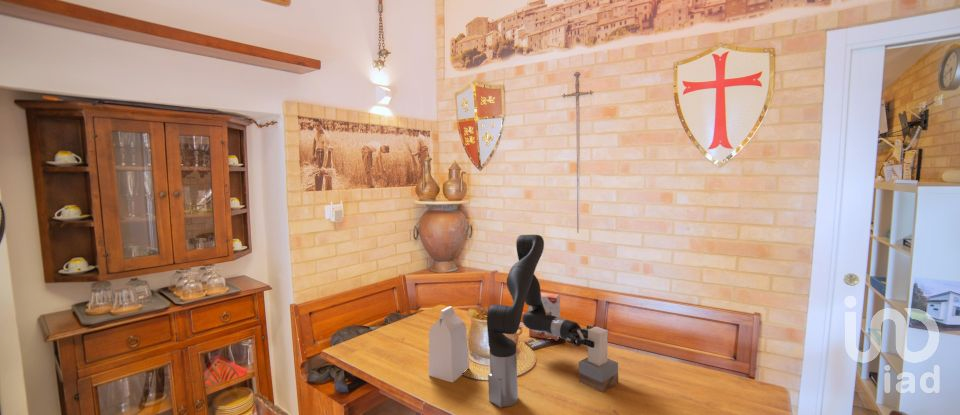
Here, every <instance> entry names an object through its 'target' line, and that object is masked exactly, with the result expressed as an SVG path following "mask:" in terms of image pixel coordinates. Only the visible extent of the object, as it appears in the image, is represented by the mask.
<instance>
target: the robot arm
mask: <svg viewBox="0 0 960 415" xmlns="http://www.w3.org/2000/svg"><path fill="white" fill-rule="evenodd" d="M515 243H516V246H515V247H516V253H517V259H518V261H517V262H515V263H514V264H513V265H512V266H511V267H510V270H509V273H508V274H507V277H506V283H505V284H506V288H507V289H508V292H509V294H510V296H511V299H512V300H513V302H512V304H511V305H505V304H491V305H490V306H489V307H488V309H487V313H486V328H487V342H488V347H489V370H490V371H489V372H490V373H488V375H487V376H488V377H487V378H488V383H487V384H488V401H489V402H491V403H492V404H494V405H495V406H497V407H498V408H500V409H501V408H503V407H506V408H507V407H510V406H514V405H515V404H517V402H518V400H519V399H518V398H519V397H518V363H517V361H518V358H517V356H518V355H517V344H516V342H515V340H513V339H511V338H509V337H508V336H506V335H515V334H516V333H517V332H518V330H519V329H520V326H521V320H522V324H523V325H524V326H525V327H526V328H527V329H528V330H529V329H532V330H538V331H546V332H548V333H551V334H554V335H556V336H557V337H560V338H561V339H563V340H566V342H567V343H569V344H571V345H573V346H576V347H581V346H586V347H588V346H589V347H591V348H594V347H595V343H594V341H591V340H588V330H589V329H591V328H593V327H594V326H591V325H586V328H585V327H581V326H580V324H579V323H578V322H575V321H573V320H571V319H567V318H563V317H560V318H559V317H555V316H552V315H546V312H545V309H544V306H543V303H542V301H541V293H542V291H541V284H540V281H539V279H538V278H537V276H536V275H535V271H536V268H537V265H538V264H539V261H540V259H541V257H542V255H543V252H544V248H545V240H544V238H543V237H542V236H541V235H540V234H521V235H518V237H517V239H516V242H515ZM525 304H526V305H527V306H528V307H529V306H532V308H533V310H531V311H529V310H528V311H526V312H524V314H523V311H524V309H525V308H524V307H525ZM505 334H506V335H505ZM560 338H559V339H560Z"/></svg>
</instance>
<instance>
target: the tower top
mask: <svg viewBox="0 0 960 415" xmlns="http://www.w3.org/2000/svg"><path fill="white" fill-rule="evenodd" d="M579 372H580V373H582V374H584V375H586V376H589V377H591V378H593V379H595V380H598V381H600V382H604V381H606V380H607V379H609V378H611V377H612V376H614V375H616V374H617V373H618V374H619V362H617V361H615V360H612V359H610V358H608V357H607V362H606V363H604V364H602V365H601V366H598V365H595V364H593V363H591V362H588V356H587V357H586V358H583V359H581V360H579V361H578V373H579Z"/></svg>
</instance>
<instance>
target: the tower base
mask: <svg viewBox="0 0 960 415" xmlns="http://www.w3.org/2000/svg"><path fill="white" fill-rule="evenodd" d="M578 378H579V379H578V382H579V383H581V384H584V385H586V386H588V387H590V388H593V389H594V390H597V391H598V392H601V393H604V392H606V391H607V390H609V389H610V388H612V387H613V386H615V385H616V384H618V383H619V372H618V373H617V374H616V375H614V376H612V377H611V378H609V379H607V380H606V381H604V382H600V381H598V380H595V379H593V378H591V377H589V376H586V375H584V374H582V373H580V372H579V371H578Z"/></svg>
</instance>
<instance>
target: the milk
mask: <svg viewBox="0 0 960 415" xmlns="http://www.w3.org/2000/svg"><path fill="white" fill-rule="evenodd" d="M469 358H470V356H469V348H468V337H467V325H466V323H465V322H464V321H463V320H462V319H461V317H460V316H459V315H458V314H456V313H455V310H454V307H453V306H451V305H450V306H448V307H445V308H444V309H441V310H440V313H439V318H438V319H437V321H436V322H434V323H433V324H432V325H431V326H430V328H429V331H428V377H433V378H436V379H439V380H442V381H445V382H449V383H452V384H453V383H454V382H455V381H457V379H459V378H460V377H462V376H463V374H462V373H463V372H464V371H465V370H466V369H468V368H469V369H470V359H469Z"/></svg>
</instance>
